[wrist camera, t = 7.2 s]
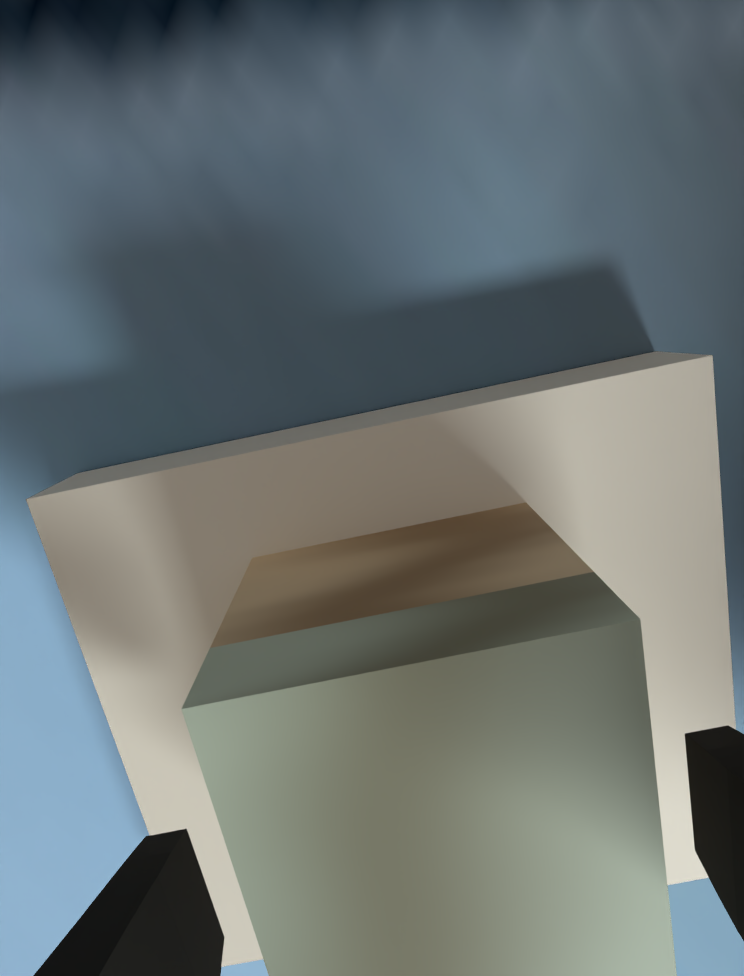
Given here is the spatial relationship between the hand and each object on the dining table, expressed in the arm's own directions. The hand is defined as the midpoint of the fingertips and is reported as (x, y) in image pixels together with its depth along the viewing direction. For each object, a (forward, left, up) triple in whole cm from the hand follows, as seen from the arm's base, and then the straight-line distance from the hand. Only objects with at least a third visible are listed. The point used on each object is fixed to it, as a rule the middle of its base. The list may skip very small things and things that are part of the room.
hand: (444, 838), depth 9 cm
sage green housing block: (0, 0, -3) cm, 3 cm away
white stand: (0, 0, -5) cm, 5 cm away
